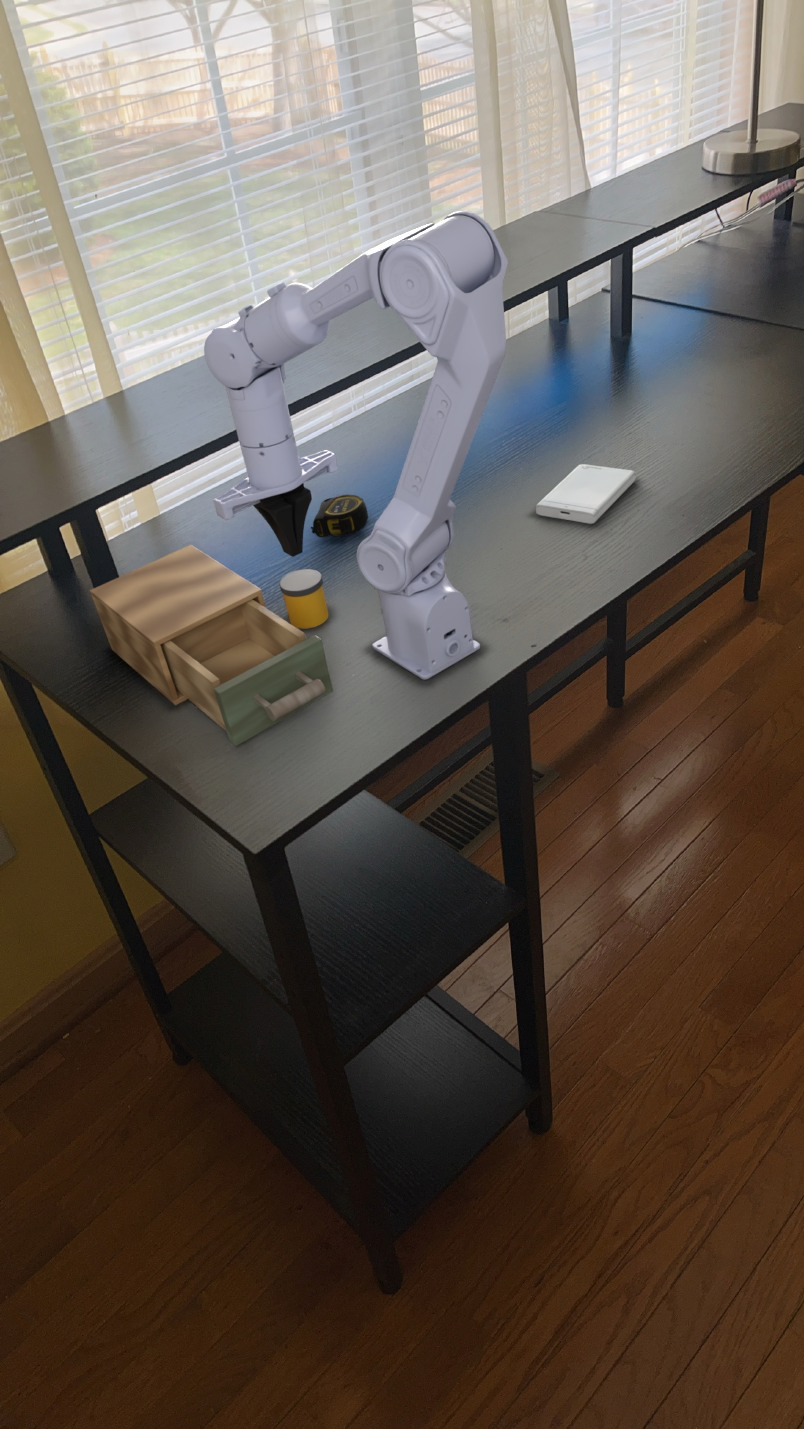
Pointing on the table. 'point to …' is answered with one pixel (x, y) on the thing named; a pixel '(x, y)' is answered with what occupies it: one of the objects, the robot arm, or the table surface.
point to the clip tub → (304, 598)
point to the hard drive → (586, 493)
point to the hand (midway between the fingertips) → (293, 551)
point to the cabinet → (166, 608)
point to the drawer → (248, 669)
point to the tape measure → (340, 516)
